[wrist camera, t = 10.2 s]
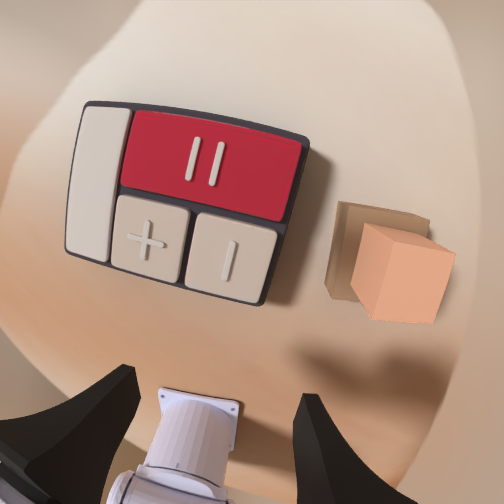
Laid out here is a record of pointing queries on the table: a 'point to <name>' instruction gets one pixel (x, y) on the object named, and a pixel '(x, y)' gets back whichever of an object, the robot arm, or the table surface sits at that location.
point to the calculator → (183, 196)
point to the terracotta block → (400, 275)
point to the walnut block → (349, 240)
